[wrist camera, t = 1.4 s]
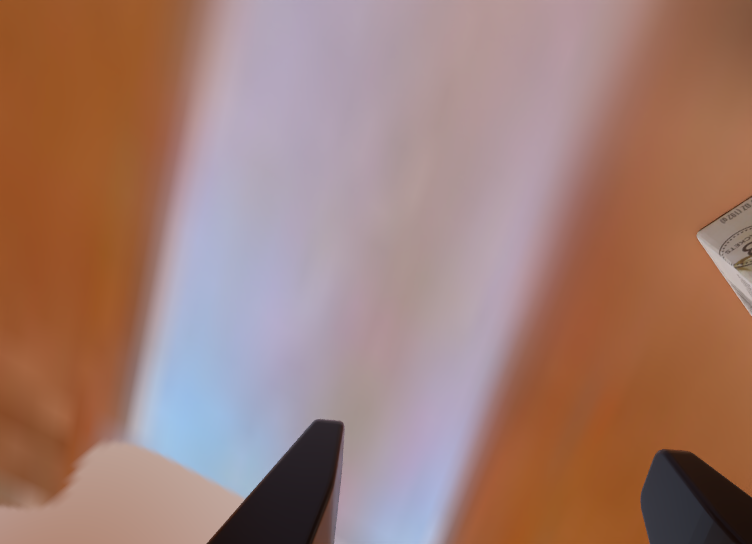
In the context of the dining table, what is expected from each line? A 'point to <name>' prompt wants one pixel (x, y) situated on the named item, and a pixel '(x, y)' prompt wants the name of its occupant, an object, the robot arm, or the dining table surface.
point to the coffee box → (732, 249)
